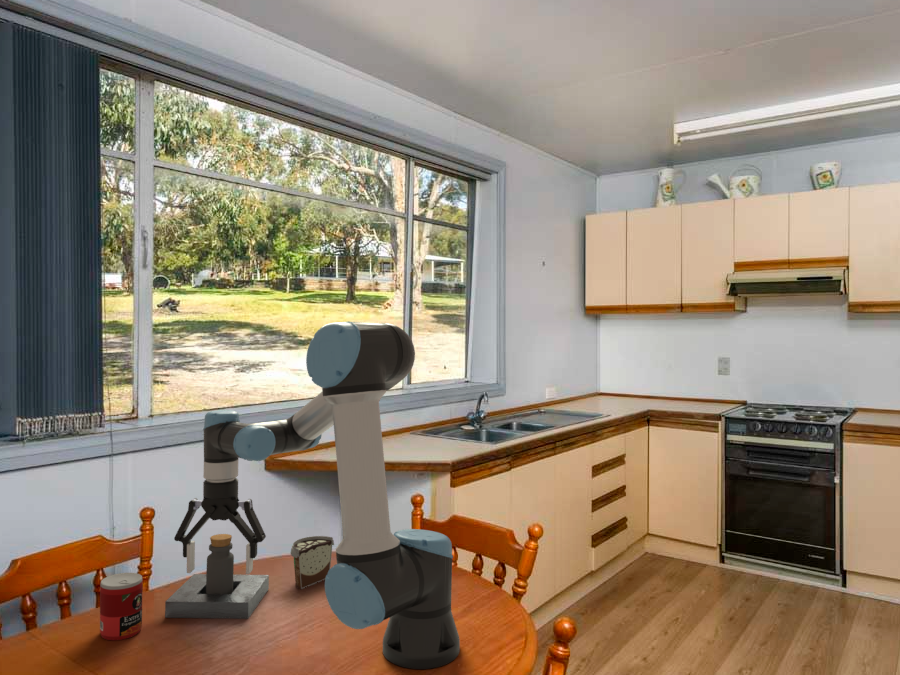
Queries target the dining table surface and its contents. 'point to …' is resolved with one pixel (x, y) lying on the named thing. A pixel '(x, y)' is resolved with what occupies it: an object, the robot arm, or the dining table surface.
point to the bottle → (220, 565)
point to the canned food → (121, 606)
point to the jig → (217, 598)
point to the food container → (311, 559)
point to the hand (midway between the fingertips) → (220, 571)
